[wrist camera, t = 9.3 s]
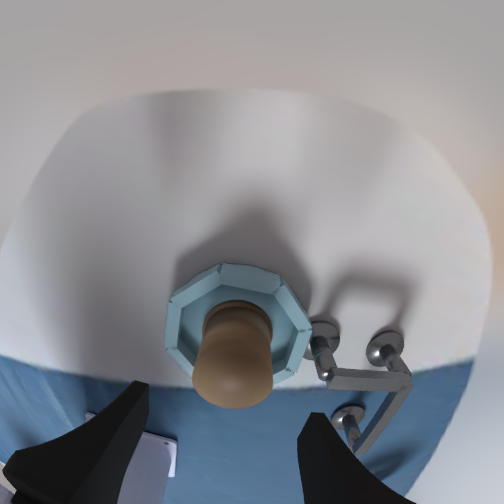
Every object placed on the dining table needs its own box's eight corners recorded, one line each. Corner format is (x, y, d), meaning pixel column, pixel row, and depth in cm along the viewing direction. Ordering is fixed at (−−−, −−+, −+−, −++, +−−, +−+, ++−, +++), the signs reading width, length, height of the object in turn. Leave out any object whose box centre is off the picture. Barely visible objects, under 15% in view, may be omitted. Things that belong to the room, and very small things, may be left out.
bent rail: (264, 421, 21) (265, 463, 17) (302, 317, 19) (314, 359, 14) (355, 426, 22) (367, 463, 18) (407, 332, 19) (435, 367, 15)
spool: (198, 349, 19) (183, 401, 14) (209, 292, 17) (194, 337, 13) (262, 363, 19) (264, 416, 14) (280, 308, 18) (288, 356, 13)
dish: (168, 361, 20) (162, 376, 18) (181, 250, 17) (173, 259, 16) (283, 383, 20) (285, 399, 18) (319, 279, 18) (326, 291, 16)
